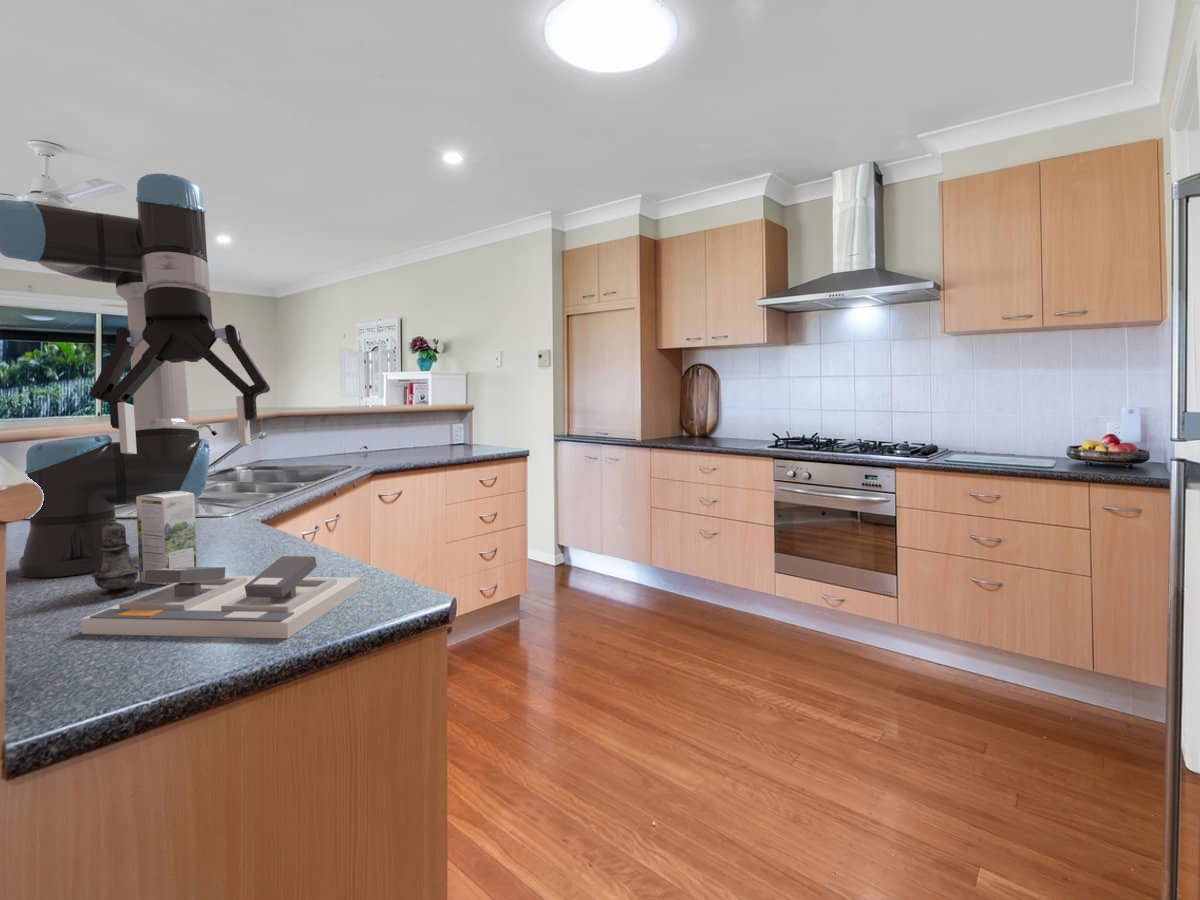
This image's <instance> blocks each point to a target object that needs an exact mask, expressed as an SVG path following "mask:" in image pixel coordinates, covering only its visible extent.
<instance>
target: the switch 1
mask: <svg viewBox="0 0 1200 900" xmlns="http://www.w3.org/2000/svg"><path fill="white" fill-rule="evenodd" d="M225 576H226V567H225V566H223V567H221V566H197V567H184V568H169V569H154V570H146V571H145V580H144V582H160V583H183V582H193V581H203V580H212V579H222V578H225Z"/></svg>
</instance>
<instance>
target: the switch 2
mask: <svg viewBox="0 0 1200 900" xmlns="http://www.w3.org/2000/svg"><path fill="white" fill-rule="evenodd" d="M316 568H317V559H316V556H308V555H307V556H300V555H299V556H298V555H297V556H295V555H293V556H291V555H289V556H288V555H287V556H285V555H282V556H280V557H279V558H278V559H277V560H275V561H274V562H273V563H272V564H271V565H269V566H268V567H267V568H266V569H264V570H263V571H261V572H260V573H259V574H258V575H256V576H257V577H255V578H254V579H253V580H252V581H250V582H249V583H248V584H247V585H245V591H246V596H247V597H280V598H283V597H284V596H285V595H286V594H287V593H288V592H289V591H290V590H292V589H293V588H294V587H295V586H296V585H297V584H298V583H299V582H300V581H301V580H303V579H304V578H305V577H308V575H309V574H310V573H311V572H312V571H314V570H315V569H316Z"/></svg>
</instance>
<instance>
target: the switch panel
mask: <svg viewBox="0 0 1200 900" xmlns="http://www.w3.org/2000/svg"><path fill="white" fill-rule="evenodd" d="M257 576H258V575H225V578H222V579H212V580H203V581H193V582H183V583H172V584H168V585H164V586H162V587H159V588H158V589H157V588H156V589H154V590H151V591H149V592H146V593H144V594H141V595H138V596H136V597H133V598H131V599H128V600H126V601H123V602H120V603H118V604H116V605H113V606H110V607H107V608H106V609H102V610H101V611H97V612H95V613H92V614H90V615H87V616H84V617H81V634H82V635H111V636H114V635H117V636H153V637H154V636H156V637H157V636H161V637H163V636H165V637H201V638H202V637H204V638H207V637H209V638H210V637H211V638H241V639H242V638H243V639H245V638H247V639H249V638H250V639H251V638H252V639H253V638H254V639H257V638H258V639H289V638H291V637H293V636H294V635H296V634H297V633H299V632H300V631H302V630H303V629H305V628H306V627H308V626H309V625H311V624H313V623H314V622H315V621H317V620H318V619H320V618H321V617H323V616H324V615H327V614H329V612H330V611H332V610H334V609H335V608H337V607H338V606H339V605H341V604H343V603H344V602H346V601H347V600H349V599H351V598H352V597H353V596H355V595H356V594H358V593H359V592H361V590H362V584H361V583H362V582H361V581H362V580H361V579H362V577H334V576H332V577H331V576H330V577H329V576H328V577H327V576H324V577H322V576H306V577H305V578H304V579H303V580H301V581H300V582H299V583H298V584H297V585H296V586H295V587H294V588H293V589H292V590H290V591H289V592H288V593H287V594H286V595H285V596H284V597H283V598H280V597H247V596H246V591H245V585H247V584H248V583H249V582H250V581H252V580H253V579H254V578H255V577H257Z"/></svg>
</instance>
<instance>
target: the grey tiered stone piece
mask: <svg viewBox="0 0 1200 900" xmlns="http://www.w3.org/2000/svg"><path fill="white" fill-rule="evenodd" d="M115 518H116V517H115ZM115 518H114V517H112V518H111V523H109V524H107V525H105V526H104V527H103V528H102V541H103V547H101V548H100V550H102V552H103V564H102V568H101V569H100V570H99V571H96V572H92V573H91V577H92V578H94V582H95V584H96V586H97V587H99V588H100V589H102V590H104V591H101V592H99V593H98V594H97V595H96V596H95V600H98V599H100V601H109V600H110V601H111V600H118V599H123V598H129V597H131V596H134V595H136V594H138V593H140V590H139V589H138V588H136V587H132V585H133V584H134V583H135V582H136V581H137V579H138V576H139V574H138V572H139V570H140V568H139V566H133V565H132V564H130V561H128V554H127V548H128V547H130V544H127V536H126V535H127V533H126V527H125V525H124V524H122V523H121V522H117V519H115ZM115 520H116V522H115Z"/></svg>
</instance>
